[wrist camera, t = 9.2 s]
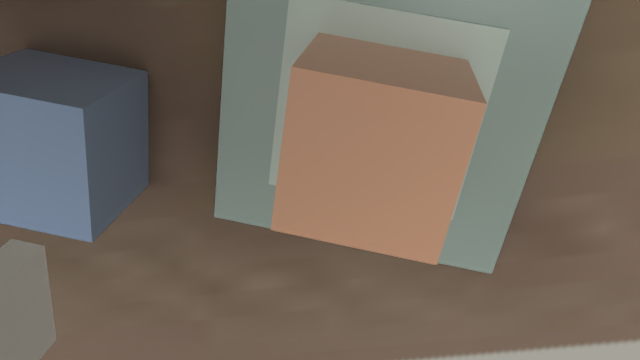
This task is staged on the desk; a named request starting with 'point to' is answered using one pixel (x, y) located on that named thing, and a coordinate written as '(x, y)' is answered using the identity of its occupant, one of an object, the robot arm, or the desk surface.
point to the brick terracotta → (375, 146)
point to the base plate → (416, 34)
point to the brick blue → (70, 142)
